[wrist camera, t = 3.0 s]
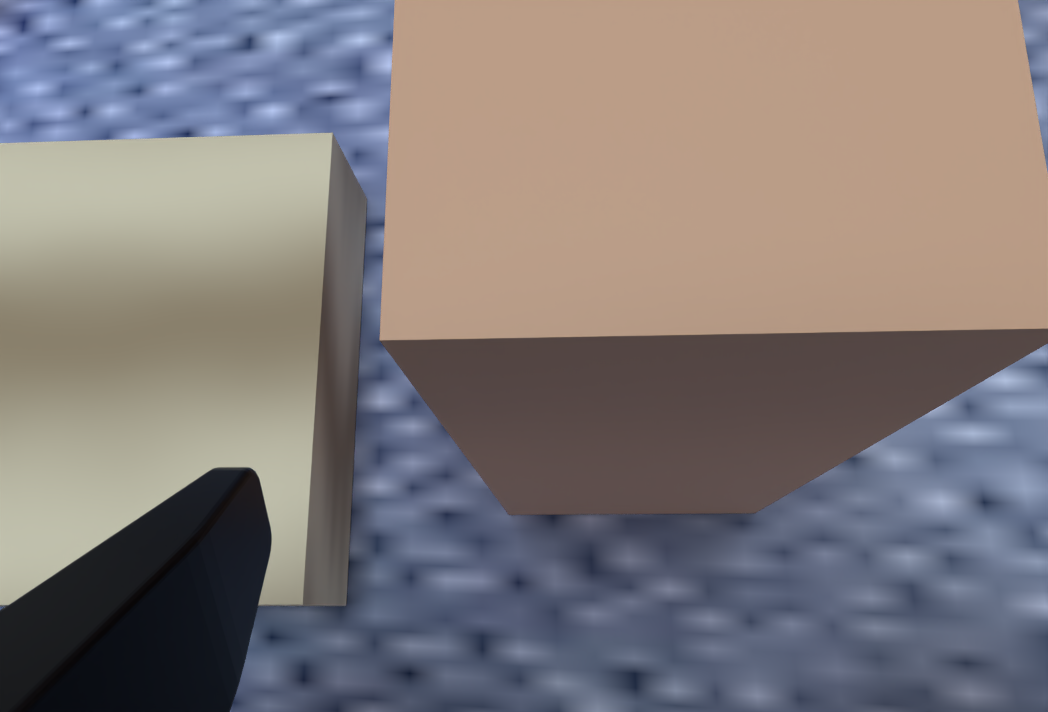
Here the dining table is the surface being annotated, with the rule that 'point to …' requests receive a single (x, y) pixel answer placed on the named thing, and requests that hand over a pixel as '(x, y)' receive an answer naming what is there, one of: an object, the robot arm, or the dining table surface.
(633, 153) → the brown block
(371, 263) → the dining table surface
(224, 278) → the plinth
